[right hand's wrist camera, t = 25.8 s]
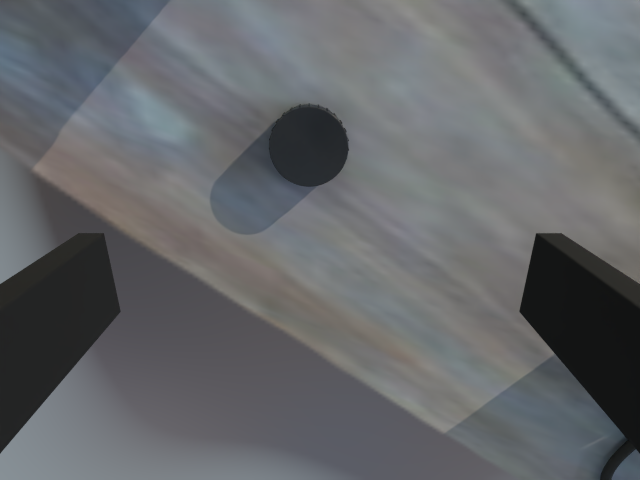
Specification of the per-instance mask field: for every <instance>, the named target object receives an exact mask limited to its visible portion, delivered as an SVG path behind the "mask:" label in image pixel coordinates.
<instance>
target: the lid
mask: <svg viewBox="0 0 640 480" xmlns="http://www.w3.org/2000/svg"><path fill="white" fill-rule="evenodd" d="M276 123H277V124H276V125H275V127H274V128H273V129H272V134H271V137H270V139H269V140H270V146H269V150H270V155H271V159H272V162H273V164H274V166H275V168H276V169H277V170H278V172H279V173H280V174H281V175H282V176H283V177H284V178H285V179H287V180H288V181H290V182H292V183H294V184H297V185H301V186H318V185H321V184H324V183H326V182H328V181H330V180H331V179H333V178H334V177H335V176H336V175H337V174H338V173H339V172H340V171H341V169H342V168H343V166H344V164H345V162H346V160H347V155H348V151H349V149H348V141H349V140H348V138H347V135H346V130H345V128H343V126H342V122H341V120H340V121H339V119H338V118H337V117H336V115H335V113H334V114H333V113H332V112H330V111H329V110H328V108H326V109H325V108H323V107H321V106H319V105H318V106H317V105H310V104H309V105H301V104H300V105H299V106H297V107H294V108H291V109H290V110H289V111H288V112H286V113H285V112H284V113H283V115H282V117H281V118H280V119H278V120H277V122H276Z"/></svg>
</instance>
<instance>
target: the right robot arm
mask: <svg viewBox="0 0 640 480" xmlns="http://www.w3.org/2000/svg"><path fill="white" fill-rule="evenodd" d="M519 312H520V313H521V314H522V315H523V316H524V318H525V319H526V320H527V321H528V322H529V323H530V325H531V326H532V327H533V328H534V329H535V331H536V332H537V333H538V334H539V335H540V336H541V338H542V339H543V340H544V341H545V342H546V343H547V345H548V346H549V347H550V348H551V349H552V351H553V352H554V353H555V354H556V355H557V356H558V358H559V359H560V360H561V361H562V362H563V364H564V365H565V366H566V367H567V368H568V369H569V371H570V372H571V373H572V374H573V375H574V376H575V378H576V379H577V380H578V381H579V382H580V384H581V385H582V386H583V387H584V388H585V389H586V391H587V392H588V393H589V394H590V395H591V396H592V398H593V399H594V400H595V401H596V402H597V404H598V405H599V406H600V407H601V408H602V409H603V411H604V412H605V413H606V414H607V415H608V417H609V418H610V419H611V420H612V421H613V422H614V424H615V425H616V426H617V427H618V428H619V429H620V431H621V432H622V433H623V434H624V435H625V437H626V438H627V439H628V441H627V442H626V443H625V444H623V445H622V446H621V447H620V448H619V449H618V450H617V451H616V452H615V453H614V454H613V455H612V457H611V458H610V459H609V461H608V462H607V464H606V465H605V467H604V469H603V471H602V474H601V479H600V480H611V478H612V476H613V473H614V472H615V470H616V469H617V467H618V466H619V465H620V463H621V462H622V461H623V460H624V459H625V458H626V457H627V456H628V455H629V454H630V453H632V452H633V451H634V450H635V449H637V451H638V452H639V453H640V284H639V283H637V282H636V281H634V280H632V279H631V278H629V277H628V276H626V275H625V274H623V273H622V272H620V271H619V270H617V269H615V268H614V267H612V266H611V265H609V264H608V263H606V262H605V261H603V260H602V259H600V258H599V257H597V256H595V255H594V254H592V253H591V252H589V251H588V250H586V249H585V248H583V247H582V246H580V245H579V244H577V243H575V242H574V241H572V240H571V239H569V238H568V237H566V236H565V235H563V234H562V233H536V237H535V241H534V246H533V251H532V255H531V260H530V265H529V269H528V274H527V279H526V283H525V288H524V293H523V297H522V302H521V307H520V311H519ZM119 313H120V307H119V302H118V297H117V293H116V288H115V283H114V279H113V274H112V269H111V265H110V260H109V255H108V251H107V246H106V242H105V237H104V234H103V233H79V234H77V235H75V236H74V237H72V238H71V239H69V240H68V241H66V242H65V243H63V244H61V245H60V246H58V247H57V248H55V249H54V250H52V251H51V252H49V253H48V254H46V255H45V256H43V257H41V258H40V259H38V260H37V261H35V262H34V263H32V264H31V265H29V266H28V267H26V268H25V269H23V270H22V271H20V272H18V273H17V274H15V275H14V276H12V277H11V278H9V279H8V280H6V281H5V282H3V283H1V284H0V453H1V452H2V451H3V449H4V448H5V447H6V446H7V445H8V444H9V442H10V441H11V440H12V439H13V438H14V437H15V435H16V434H17V433H18V432H19V431H20V429H21V428H22V427H23V426H24V425H25V424H26V422H27V421H28V420H29V419H30V418H31V416H32V415H33V414H34V413H35V412H36V411H37V409H38V408H39V407H40V406H41V405H42V404H43V402H44V401H45V400H46V399H47V398H48V396H49V395H50V394H51V393H52V392H53V391H54V389H55V388H56V387H57V386H58V385H59V384H60V382H61V381H62V380H63V379H64V378H65V376H66V375H67V374H68V373H69V372H70V371H71V369H72V368H73V367H74V366H75V365H76V364H77V362H78V361H79V360H80V359H81V358H82V356H83V355H84V354H85V353H86V352H87V350H88V349H89V348H90V347H91V346H92V345H93V343H94V342H95V341H96V340H97V339H98V338H99V336H100V335H101V334H102V333H103V332H104V330H105V329H106V328H107V327H108V326H109V325H110V323H111V322H112V321H113V320H114V319H115V318H116V316H117V315H118V314H119Z"/></svg>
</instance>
